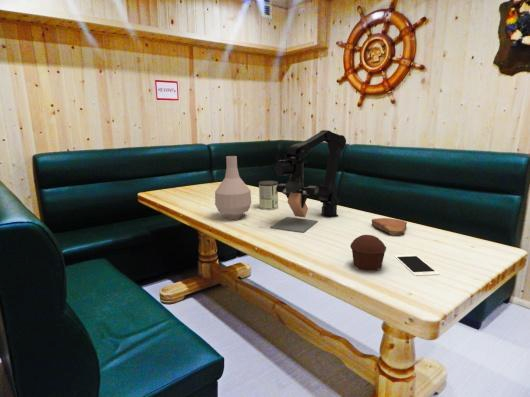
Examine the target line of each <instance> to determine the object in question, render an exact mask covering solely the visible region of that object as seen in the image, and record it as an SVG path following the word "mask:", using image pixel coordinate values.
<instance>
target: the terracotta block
mask: <svg viewBox="0 0 530 397" xmlns="http://www.w3.org/2000/svg"><path fill="white" fill-rule="evenodd" d="M301 194H302V193H300V192H296V193H290V195H289V198H287V201H286V202H287V203H288V204H287V205H289V207H290V209H291V211H292V213H293V215H294V217H296V218H298V217H299V218H306V217H307V214H308V209H309V208H308V206H307V204H306V203H307V202H305V205H304V207H303V208H302V206H301V204H302V196H301Z"/></svg>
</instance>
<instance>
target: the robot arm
mask: <svg viewBox="0 0 530 397" xmlns="http://www.w3.org/2000/svg"><path fill="white" fill-rule="evenodd" d="M324 142H325V143H327V150H328V159H327V164H326V170H325V171H326V172H325V176H324V182H323V183H322V184H319V186H318V185H308V186H306V187H305V184H304V178H305V174H304V164H307V163H308V161H307V160H306V158H305V157H306V156H307V155H308V154H309V153H310V151H311V150H312V149H314V148H316V147H318V146H319V145H320V144H322V143H324ZM346 143H347V139H346V137H345V135H343V134H342V135H340V134H338V133H334V132H332V131H331V130H330V129H329V130H327V129H322V130H320V131H319V132H318V133H316V134H315V135H312V136H311V137H310V138H308V139H306V140H304V141H303V142H297V143H294V144H291V145H290V146H289V147H288V150H287V152H286V154H285V156H284V157H283V159H278V160H277V163H276V164H275V167H274V172H275V174H276V175H277V176H278V177H282V176H289V178H288V181H287V182H286V183H278V185H277V186H276V191H277V192H278V193H279V192H281V193H282V195H283V194H284V195H285V196H286V199H288V198H289V195H290V193H297V192H302V193H301V196H302V204H301V206H302V208H303V207H304V205H305V203H307V200H308V198H309V196H310V195H312V196H313V195H317V197H318V198H319V202H320V203H321V204H322V206H321V213H320V215H321V216H323V217H325V218H334V217H339V215H338V209H337V208H338V205H340V203H341V199H340V198H339V197H338V196H337V188H336V185H335V182H336V179H337V178H336V177H337V172H338V167H339V160H340V156H341V153H343V151H344V149H345V147H346Z"/></svg>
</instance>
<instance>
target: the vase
mask: <svg viewBox="0 0 530 397" xmlns="http://www.w3.org/2000/svg"><path fill="white" fill-rule="evenodd" d="M237 158H238V156H236V155H228V156H227V155H226V156H225V159H226V170H225V175H224V178H223V180H222V182H221V183H220V184H219V186H218V187H217V188H216V189H215V191H214V205H215V207H216V209H217V211H218V213H220V214H223V215H226V218H228V219H231V220H236V219H240V218H241V215H243V214H244V213H246V212H248V211H249V210H250V208H251V204H252V195H251V194H252V193H251V192H252V191H251V189H250V188H249V187H248V185H246V183H245V182H244V181H243V179H242V178H241V177H240V173H239V169H238V159H237Z"/></svg>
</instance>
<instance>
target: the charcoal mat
mask: <svg viewBox="0 0 530 397" xmlns="http://www.w3.org/2000/svg"><path fill="white" fill-rule="evenodd" d="M318 222H319V220H316V219H307V218H301V217H299V218H298V217H291V216H286V217H284V218H283V219H281V220H279V221H278V222H276V223H274V224H273V225H270V227H269V229H274V230H281V231H287V232H295V233H302V234H304V233H306V232H307V231H308V230H310V229H311V228H312V227H313V226H315V225H316V224H317V223H318Z"/></svg>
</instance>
